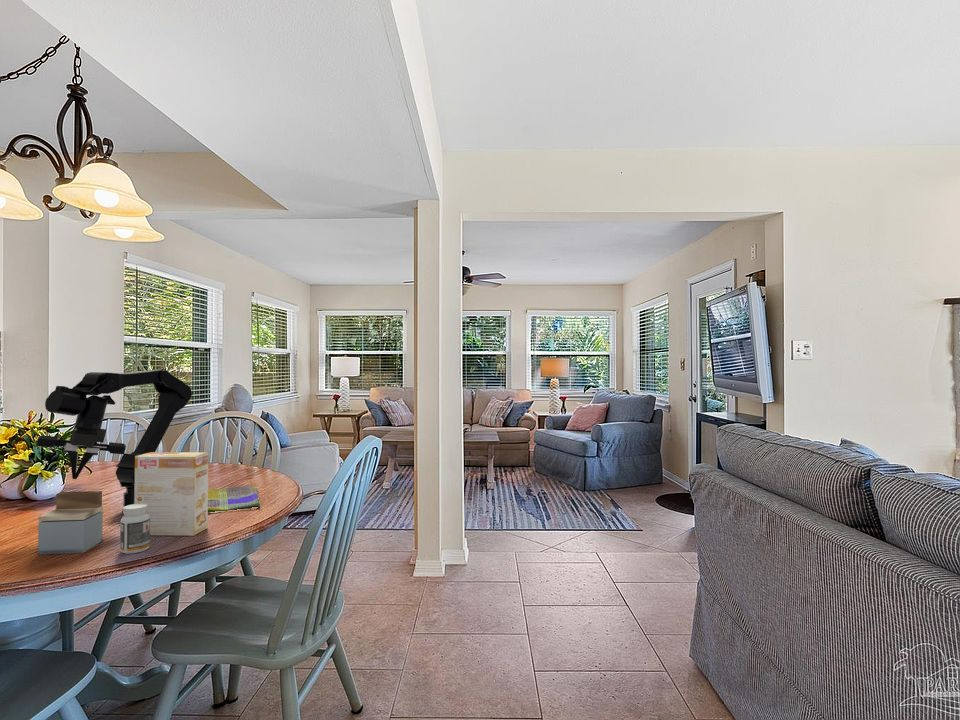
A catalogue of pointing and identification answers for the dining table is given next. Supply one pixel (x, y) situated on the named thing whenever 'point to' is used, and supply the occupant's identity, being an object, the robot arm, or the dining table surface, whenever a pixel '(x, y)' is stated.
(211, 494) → the dish towel
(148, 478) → the coffeecake box
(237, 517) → the dining table surface
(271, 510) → the dining table surface
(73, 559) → the dining table surface
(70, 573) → the dining table surface
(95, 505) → the birch lid
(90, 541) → the slate box
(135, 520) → the pill bottle
